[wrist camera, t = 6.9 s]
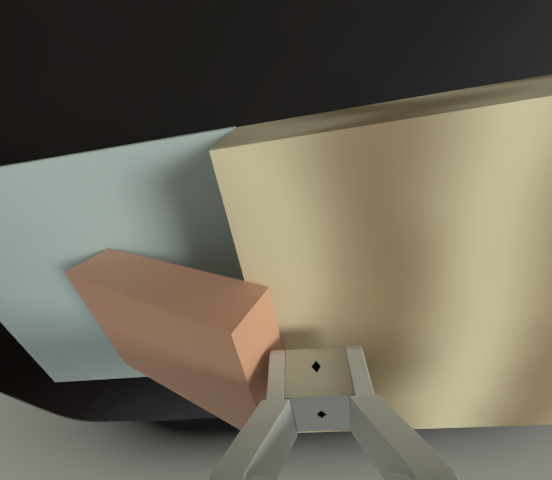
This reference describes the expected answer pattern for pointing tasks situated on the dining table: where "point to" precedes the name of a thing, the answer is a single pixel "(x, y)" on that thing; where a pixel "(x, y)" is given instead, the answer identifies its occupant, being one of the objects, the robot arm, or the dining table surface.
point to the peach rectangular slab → (185, 328)
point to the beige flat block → (410, 244)
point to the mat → (102, 238)
